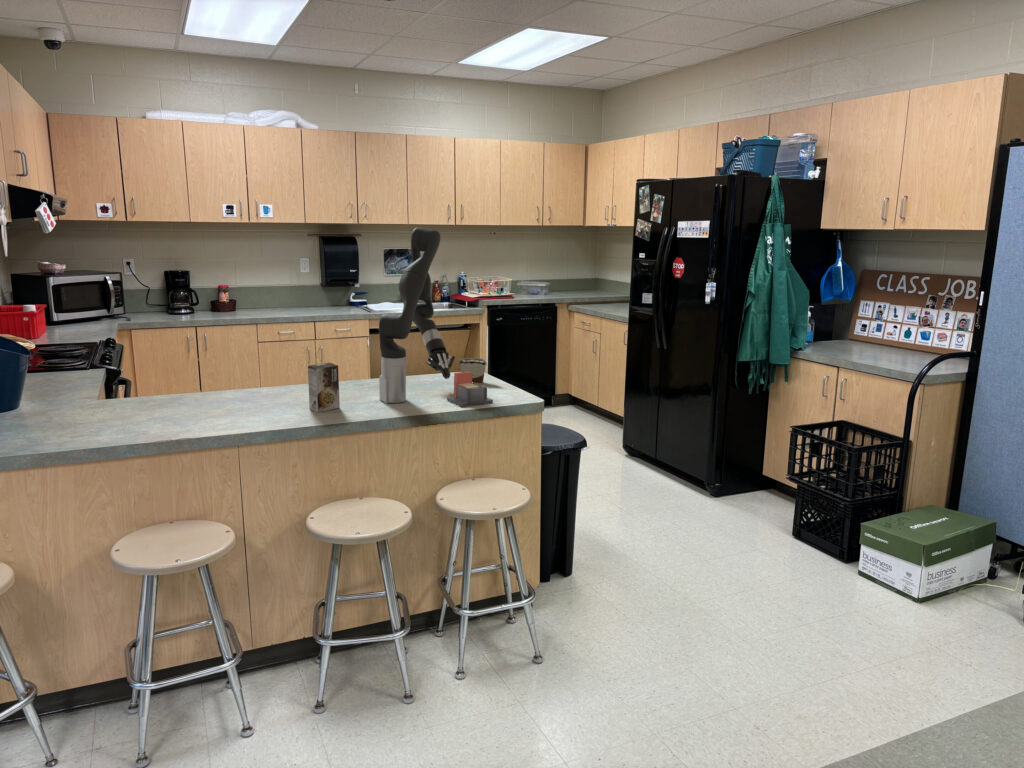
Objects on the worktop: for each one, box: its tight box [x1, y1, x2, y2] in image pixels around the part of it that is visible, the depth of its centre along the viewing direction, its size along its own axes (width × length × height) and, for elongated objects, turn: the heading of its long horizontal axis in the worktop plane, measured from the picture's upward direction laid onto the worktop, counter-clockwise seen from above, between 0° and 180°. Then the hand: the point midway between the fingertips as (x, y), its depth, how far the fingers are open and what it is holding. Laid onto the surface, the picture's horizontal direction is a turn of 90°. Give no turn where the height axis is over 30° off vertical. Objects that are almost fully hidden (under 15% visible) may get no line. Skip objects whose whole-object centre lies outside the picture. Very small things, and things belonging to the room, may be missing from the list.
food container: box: [457, 357, 488, 384], centre depth 306 cm, size 12×6×10 cm, turn 84°
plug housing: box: [446, 383, 494, 408], centre depth 273 cm, size 14×11×6 cm
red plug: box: [453, 371, 479, 397], centre depth 274 cm, size 7×9×9 cm
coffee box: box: [307, 362, 341, 413], centre depth 256 cm, size 9×6×16 cm
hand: (447, 377), depth 286 cm, fingers closed
